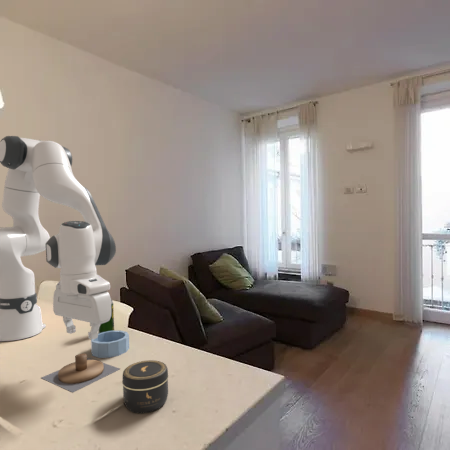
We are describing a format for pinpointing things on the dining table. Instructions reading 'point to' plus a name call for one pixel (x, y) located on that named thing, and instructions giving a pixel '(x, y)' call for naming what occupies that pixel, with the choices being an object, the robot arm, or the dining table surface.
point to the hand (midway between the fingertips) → (81, 335)
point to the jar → (145, 386)
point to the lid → (80, 370)
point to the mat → (74, 387)
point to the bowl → (110, 344)
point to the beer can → (110, 324)
